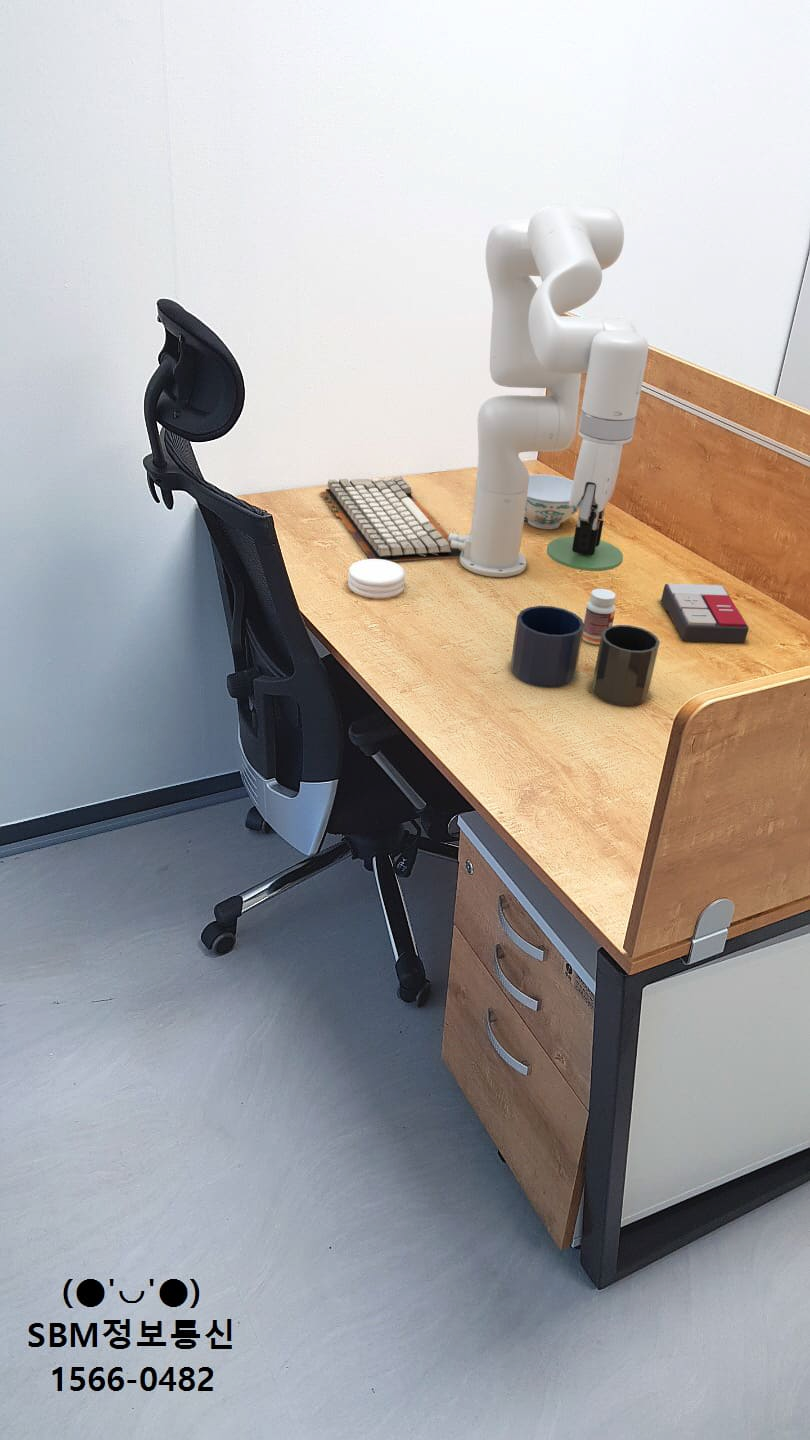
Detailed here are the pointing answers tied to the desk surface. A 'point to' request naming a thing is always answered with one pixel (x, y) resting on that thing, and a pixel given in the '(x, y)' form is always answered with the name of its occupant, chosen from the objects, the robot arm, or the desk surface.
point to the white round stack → (376, 578)
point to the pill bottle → (598, 615)
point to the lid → (584, 555)
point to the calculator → (704, 613)
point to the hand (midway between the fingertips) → (585, 547)
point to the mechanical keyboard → (388, 520)
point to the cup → (625, 665)
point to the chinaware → (549, 501)
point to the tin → (546, 646)
